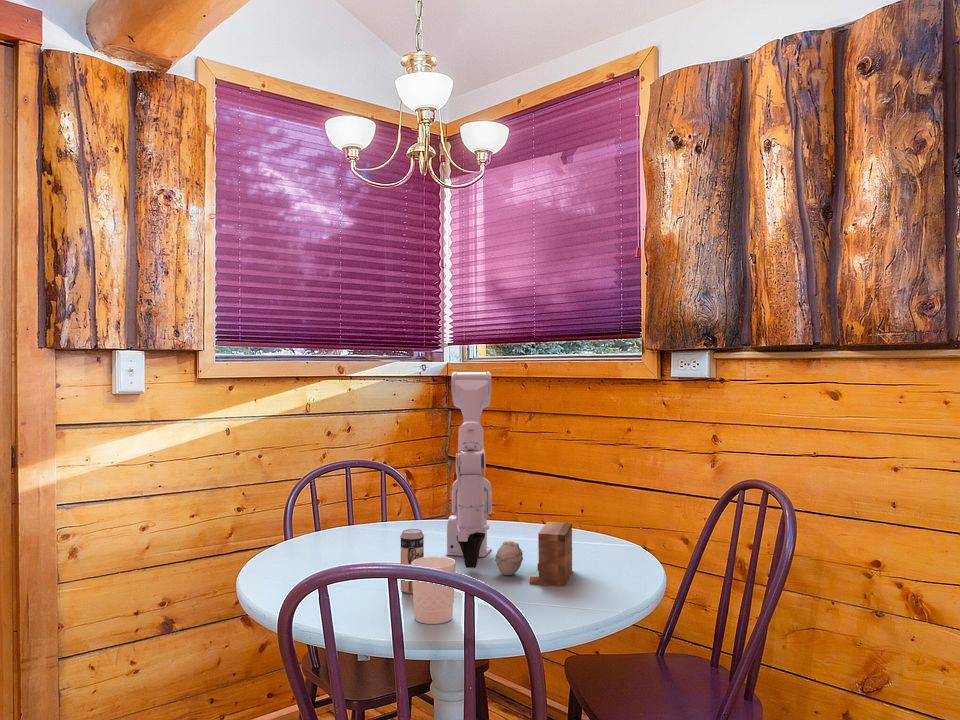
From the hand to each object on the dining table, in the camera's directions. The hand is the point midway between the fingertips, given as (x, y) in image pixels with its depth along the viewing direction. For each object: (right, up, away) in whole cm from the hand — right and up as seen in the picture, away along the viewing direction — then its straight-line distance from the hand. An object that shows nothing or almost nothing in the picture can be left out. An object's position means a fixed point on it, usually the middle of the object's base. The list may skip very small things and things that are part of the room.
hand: (471, 567), depth 156 cm
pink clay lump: (+8, -1, -2) cm, 9 cm away
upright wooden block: (+17, -1, -4) cm, 18 cm away
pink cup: (-6, -1, -29) cm, 30 cm away
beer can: (-12, -1, -14) cm, 18 cm away
